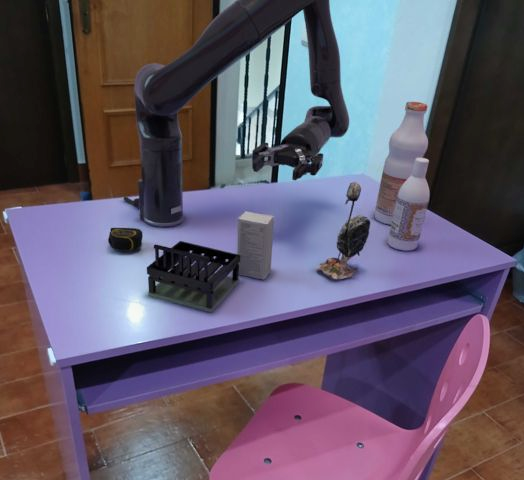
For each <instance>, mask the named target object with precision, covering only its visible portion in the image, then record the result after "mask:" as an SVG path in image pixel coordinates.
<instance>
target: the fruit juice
mask: <svg viewBox="0 0 524 480" xmlns="http://www.w3.org/2000/svg"><path fill="white" fill-rule="evenodd" d="M404 111H405V114H404V117H403V119H402V122H401V124H400V125H399V126H398V128H397V129H395V130H394V131H393V133H392V134H391V135H390V138H389V141H388V154H387V157H386V158H385V159H384V160H385V161H384V164H383V168H382V173H381V178H380V183H379V188H378V192H377V199H376V202H375V203H376V204H375V209H374V218H375V220H376V221H378V222H379V223H381V224H384V225H389V226H391V223H392V219H393V214H394V210H395V205H396V201H397V196H398V193H399V190H400V188H401V186H402V185H403V184H404V182H405V181H406V180H407V179H408V178H409V177H410V176H411V175H412V172H413V167H414V163H415V159H416V158H424V157H425V154H426V153H427V151H428V147H429V139H428V136H427V134H426V131H425V125H424V119H425V118H424V117H425V114H426V113H427V111H428V105H427V104H426V103H425V102H420V101H407V102H406V104H405V107H404Z"/></svg>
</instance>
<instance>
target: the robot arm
mask: <svg viewBox="0 0 524 480" xmlns="http://www.w3.org/2000/svg"><path fill="white" fill-rule="evenodd" d="M300 12H303V13H302V14H303V18H304V25H305V32H306V39H307V51H308V65H309V68H308V69H309V82H310V84H309V85H310V86H309V87H310V92H311V94H312V95H313V96H314V97H317V98H320V99H323V100H325V101H326V102H328V104H329V105H316V106H315V105H314V106H312V107H310V108H308V110H307V111H306V114H305V119H304V121H303V122H302V123H300V124H299V125H297V126H295V128H293V129H292V130H291V131H290V132H288V133H287V134H286V135H285V136H284V137H283V138H282V139H281V141H280V143H279V144H278V145H276V146H274V147H271V146H269V143H268V142H265V141H264V142H262V143H261V144H260V145H258V146H256V147H255V148H254V149H252V152H251V153H252V154H251V155H252V157H251V160H252V161H251V162H252V163H251V165H252V167H251V168H252V170H253V173H258V172H259V171H260V170H261V169H263V167H266V166H270V167H276V166H288V167H290V168H293V170H292V175H291V176H292V178H291V179H292V181H297V180H299V179H301V178H302V177H303V176H307V174H309V175H310V176H316V175H317V174H318V172H320V170H321V168H322V167H323V163H324V154H323V153H320V152H321V151H322V149H323V148H324V147H325V145H327V144H328V142H329V141H330V139H331V138H332V139H333V138H342V137H344V136H345V135H346V134H347V132H348V130H349V127H350V116H349V111H348V108H347V105H346V101H345V98H344V94H343V89H342V80H341V79H342V78H341V75H342V73H341V55H340V47H339V43H338V39H337V36H336V33H335V32H336V31H335V29H334V25H333V20H332V14H331V6H330V0H235V1H233V2H232V3H231V4H230V5H229V6H228V7H226V8H224V10H222V11H221V12H220V13H219V14H217V16H215V17H214V18H213V19H212V21H211V22H210V23H209V24H208V26H206V28H205V29H204V31H203V32H202V34H201V35H200V36H199V38H198V39H197V40H196V42H195V43H194V44H193V45H192V46H191V47H190V48H189V49H188V50H186V51H185V52H184V53H183V54H182V55H180V56H179V57H176V59H174V60H173V61H171V62H170V63H168V64H166V65H164V64H161V63H156V62H153V63H148V64H145V65H144V66H142V67H141V68H140V69H139V71H137V74H136V76H135V78H134V85H133V86H134V87H133V91H134V93H133V94H134V95H133V96H134V109H135V110H134V111H135V117H136V118H135V121H136V129H137V134H138V140H139V153H140V154H139V155H140V172H141V173H140V174H141V178H139V179H138V181H137V186H138V189H137V190H138V198H137V197H136V198H134V199H133V200H132V199H131V198H129V197H127V196H124V197H123V201H125V202H127V203H128V204H130V205H132V206H134V207H137V210H139V220H141V221H143V222H144V223H146V224H148V225H150V226H153V227H159V228H168V227H175V226H178V225H180V224H182V223H183V222H184V198H183V197H184V196H183V194H184V193H183V192H184V190H183V188H184V185H183V134H182V132H181V129H180V124H179V116H178V115H179V114H178V112H179V111H181V110H182V109H183V108H184V107H185V106H186V105H187V104H188V103H190V102H191V100H192V99H193V98H194V97H195V96H196V95H198V93H199V92H201V90H203V88H205V87H206V86H207V85H208V84H210V83H211V82H212V81H213V80H214V79H216V78H218V77H219V76H220V75H222V74H223V73H224V72H226V71H227V70H228V69H230V68H231V67H233V66H234V65H236V63H238V62H239V61H240V60H242V59H243V58H245V57H246V56H248V55H249V54H251V53H252V52H253V51H254V50H256V49H257V48H258V47H259V46H261V45H263V43H264V42H265V41H267V40H268V39H269V38H270V37H271V36H272V35H274V34H275V33H276V32H278V31H279V30H280V29H282V28H283V27H284V26H285V25H286V24H288V22H290V21H291V20H292V19H293V18H294V17H295V16H297V15H298V14H299V13H300ZM266 158H267V160H265V159H266ZM274 159H275V160H274Z"/></svg>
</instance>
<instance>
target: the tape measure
mask: <svg viewBox="0 0 524 480" xmlns="http://www.w3.org/2000/svg"><path fill="white" fill-rule="evenodd" d="M143 236H144V235H143V230H141V229H140V228H135V227H111V228H110V231H109V234H108V238H107V243H108V244H109V246H110V247H111V248H112V249H113V250H115V251H120V252H132V251H135V250H139V248H141V247H142V243H143V242H142V241H143Z"/></svg>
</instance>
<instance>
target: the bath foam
mask: <svg viewBox="0 0 524 480" xmlns="http://www.w3.org/2000/svg"><path fill="white" fill-rule="evenodd" d="M429 163H430V160H429V159H428V158H425V157H423V158H416V159H415V163H414V167H413V172H412V175H411V176H410V177H409V178H408V179H407V180H406V181H405V182H404V184H403V185H402V186H401V188H400V190H399V193H398V196H397V201H396V205H395V210H394V214H393V219H392V223H391V225H390V230H389V232H388V233H389V234H388V238H387V244H388V245H389V246H390V247H391V248H393V249H396V250H398V251H404V252H409V251H414V250H416V249H417V247H418V245H419V241H420V238H421V233H422V229H423V225H424V221H425V218H426V214H427V211H428V206H429V203H430V196H431V192H430V187H429V184H428V181H427V179H426V175H427V171H428V167H429Z"/></svg>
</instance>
